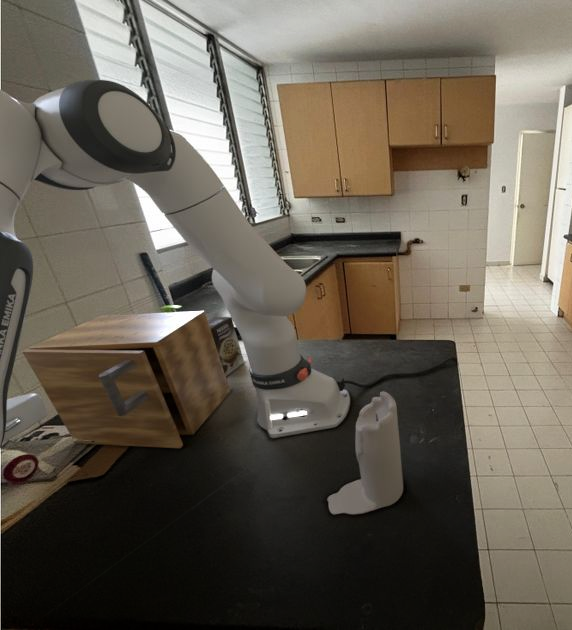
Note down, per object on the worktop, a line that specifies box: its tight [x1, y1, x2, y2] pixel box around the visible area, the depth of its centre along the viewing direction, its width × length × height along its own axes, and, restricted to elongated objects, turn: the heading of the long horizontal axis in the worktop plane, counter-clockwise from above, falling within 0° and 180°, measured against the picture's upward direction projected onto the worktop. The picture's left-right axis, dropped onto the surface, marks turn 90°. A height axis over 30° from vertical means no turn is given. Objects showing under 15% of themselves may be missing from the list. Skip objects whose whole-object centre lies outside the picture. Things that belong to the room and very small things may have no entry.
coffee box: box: [207, 316, 245, 377], centre depth 101 cm, size 9×6×16 cm
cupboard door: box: [22, 348, 184, 449], centre depth 68 cm, size 7×26×24 cm, turn 84°
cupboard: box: [28, 310, 231, 436], centre depth 81 cm, size 17×26×24 cm, turn 91°
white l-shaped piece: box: [326, 391, 404, 515], centre depth 57 cm, size 7×14×20 cm, turn 108°
